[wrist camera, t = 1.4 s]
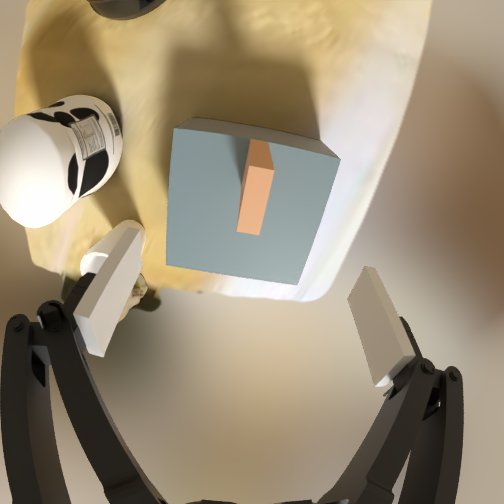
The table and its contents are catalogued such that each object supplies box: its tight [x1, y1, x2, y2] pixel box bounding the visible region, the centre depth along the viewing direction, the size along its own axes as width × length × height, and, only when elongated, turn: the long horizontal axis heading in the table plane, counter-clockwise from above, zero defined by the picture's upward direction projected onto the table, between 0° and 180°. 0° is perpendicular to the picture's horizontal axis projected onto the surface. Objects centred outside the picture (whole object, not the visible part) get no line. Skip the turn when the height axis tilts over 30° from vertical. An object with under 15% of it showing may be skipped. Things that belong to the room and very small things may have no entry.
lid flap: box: [166, 127, 341, 285], centre depth 31 cm, size 20×20×12 cm
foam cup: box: [80, 220, 147, 276], centre depth 44 cm, size 10×9×13 cm
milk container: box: [0, 95, 123, 228], centre depth 31 cm, size 17×17×18 cm
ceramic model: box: [118, 274, 147, 322], centre depth 54 cm, size 14×11×10 cm
